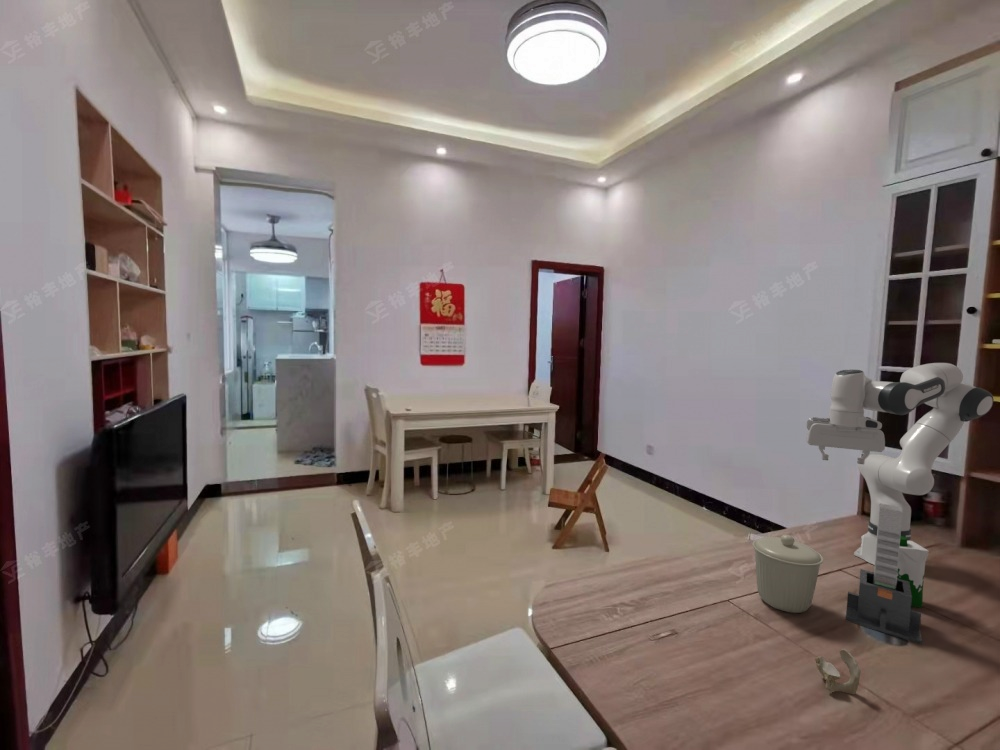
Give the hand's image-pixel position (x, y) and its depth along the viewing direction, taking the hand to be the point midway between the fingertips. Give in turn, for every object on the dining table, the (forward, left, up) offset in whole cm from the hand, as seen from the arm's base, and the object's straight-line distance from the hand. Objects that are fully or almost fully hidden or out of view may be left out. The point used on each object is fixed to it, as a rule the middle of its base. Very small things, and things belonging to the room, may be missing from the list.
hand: (842, 461), depth 147 cm
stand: (+15, +12, -41) cm, 45 cm away
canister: (+25, -11, -41) cm, 50 cm away
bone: (+58, +3, -41) cm, 71 cm away
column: (+16, +12, -32) cm, 38 cm away
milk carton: (-3, +17, -41) cm, 45 cm away
